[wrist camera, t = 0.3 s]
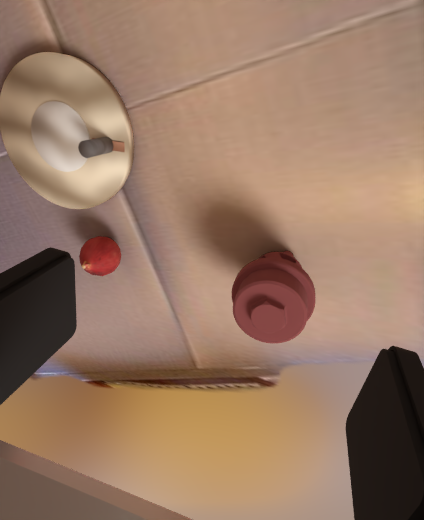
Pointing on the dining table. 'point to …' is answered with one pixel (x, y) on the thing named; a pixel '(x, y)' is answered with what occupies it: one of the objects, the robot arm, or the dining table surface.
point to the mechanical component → (273, 298)
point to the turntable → (66, 130)
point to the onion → (100, 256)
